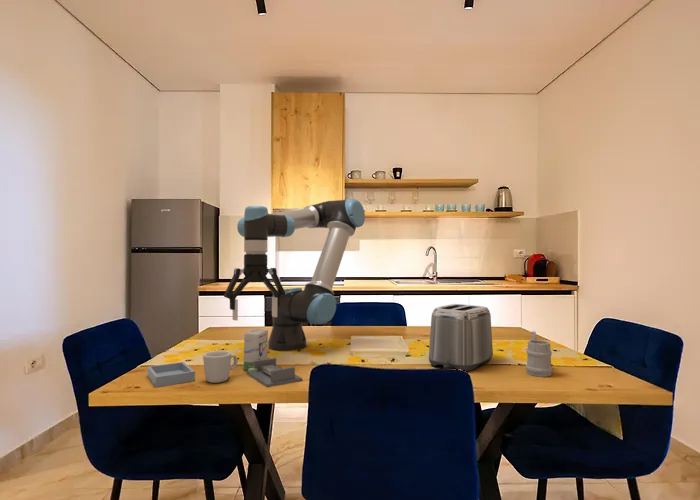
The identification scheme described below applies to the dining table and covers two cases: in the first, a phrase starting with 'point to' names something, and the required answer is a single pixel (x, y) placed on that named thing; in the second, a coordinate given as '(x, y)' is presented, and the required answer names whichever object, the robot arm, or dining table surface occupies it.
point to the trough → (170, 374)
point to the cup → (218, 365)
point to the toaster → (460, 336)
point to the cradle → (272, 373)
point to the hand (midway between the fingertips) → (255, 318)
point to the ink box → (255, 347)
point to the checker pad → (269, 368)
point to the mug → (539, 357)
